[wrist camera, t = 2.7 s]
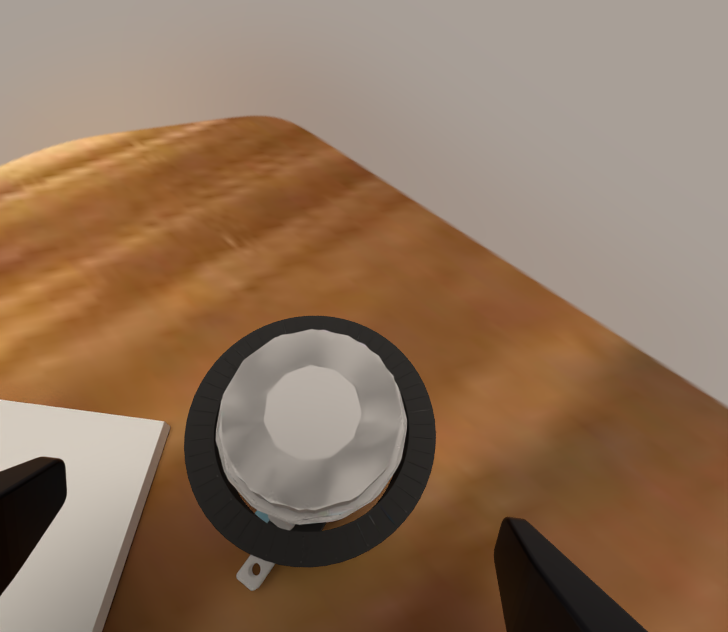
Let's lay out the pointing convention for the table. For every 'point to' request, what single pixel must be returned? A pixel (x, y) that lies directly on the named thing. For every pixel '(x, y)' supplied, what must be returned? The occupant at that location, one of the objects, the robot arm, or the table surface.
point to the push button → (308, 442)
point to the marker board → (78, 512)
